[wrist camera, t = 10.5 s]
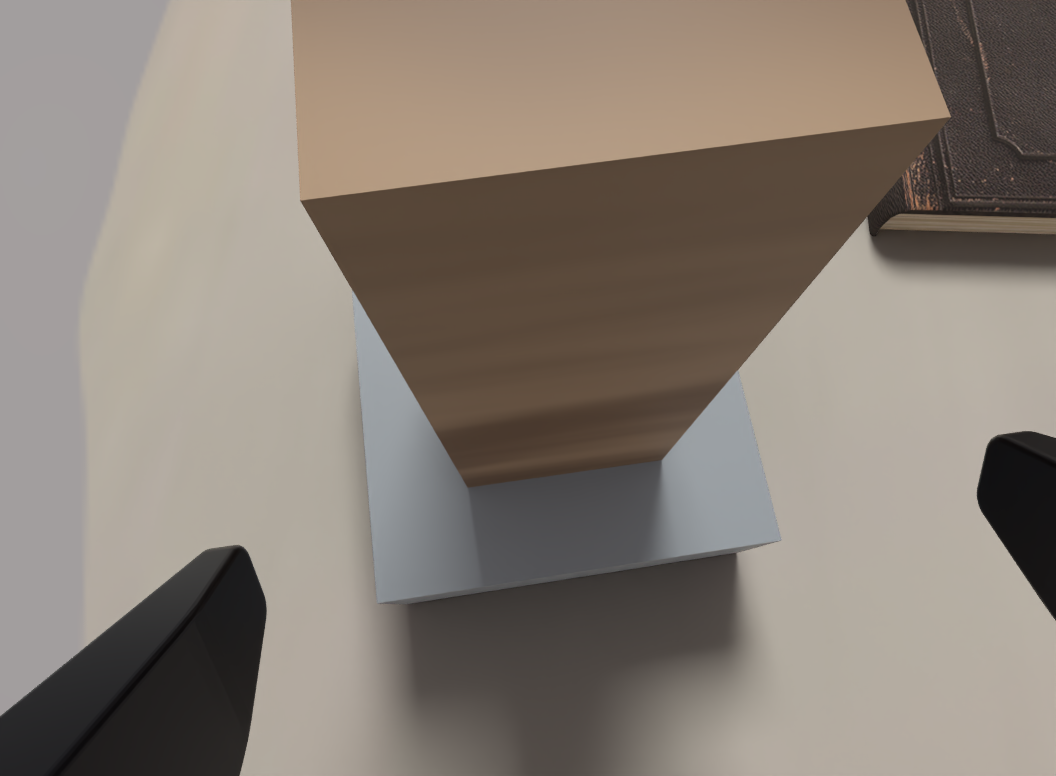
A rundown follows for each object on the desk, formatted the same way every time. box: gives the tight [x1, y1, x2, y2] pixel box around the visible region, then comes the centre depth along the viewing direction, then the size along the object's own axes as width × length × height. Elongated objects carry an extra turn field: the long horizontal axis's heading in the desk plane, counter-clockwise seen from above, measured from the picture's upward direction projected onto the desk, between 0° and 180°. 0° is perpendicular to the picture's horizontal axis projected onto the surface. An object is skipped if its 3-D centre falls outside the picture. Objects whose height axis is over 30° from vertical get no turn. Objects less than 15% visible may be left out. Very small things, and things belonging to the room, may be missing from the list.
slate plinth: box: [352, 290, 781, 604], centre depth 20 cm, size 10×10×4 cm
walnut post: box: [291, 0, 951, 488], centre depth 12 cm, size 5×5×13 cm
